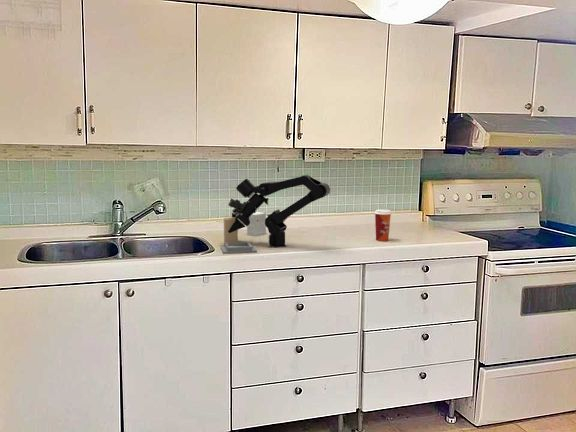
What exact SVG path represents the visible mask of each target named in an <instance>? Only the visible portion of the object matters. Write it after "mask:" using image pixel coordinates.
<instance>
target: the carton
mask: <svg viewBox="0 0 576 432" xmlns="http://www.w3.org/2000/svg"><path fill="white" fill-rule="evenodd" d="M234 222H235V217H232V216H230V217H223V246H225V243H234V242H239V234H238V233H239V232H238V231H239V229H238V230H236V231H234V232H231V233H229V232H228V230H229V229H230V227H231V226H232V225H233V223H234Z"/></svg>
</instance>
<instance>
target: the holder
mask: <svg viewBox="0 0 576 432" xmlns="http://www.w3.org/2000/svg"><path fill="white" fill-rule="evenodd" d="M220 251H221V252H222V254H223V255H227V254H251V253H252V254H257V253H258V250H257V249H256V247H255V246H254V244H251V243H250V241H243V242H242V241H238V242H234V243H225V245H220Z"/></svg>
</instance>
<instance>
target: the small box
mask: <svg viewBox="0 0 576 432" xmlns="http://www.w3.org/2000/svg"><path fill="white" fill-rule="evenodd" d="M266 218H267V213H266V212H262V211H256V212H255V214H254V213H253V214H252V215H251V216H250V217H249V220H250V224H249V225H248V226H246V235H247V236H251V237H258V236H262V235H266V234H267V227H266V225H265V219H266Z"/></svg>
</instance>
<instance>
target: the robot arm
mask: <svg viewBox="0 0 576 432" xmlns="http://www.w3.org/2000/svg"><path fill="white" fill-rule="evenodd" d="M298 186H299V187H300V186H304V187H305V188H306V189H308V190H309V191H308V192H307V194H306V195H305V196H303V197H302V198H300V199H298V200H297V201H296V202H294V203H292V204H290V205H289V206H287V207H286V208H285V209H283V210H280V209H276V210H274V211H272V212H271V214H268V215H267V214H266V219H265V225H266V229H267V231H268V233H269V235H268V245H269V246H270V247H271V248H280V247H281V248H282V247H287V245H286V230H287V224H286V223H285V222H286V220H287V219H288V218H289V217H291V216H293V215H294V214H295V213H297V212H299V211H300V210H302V209H303V208H305V207H306V206H308V205H310V204H311V203H313V202H315V201H317V200H319V199H322V198H325V197H327V196H328V195H330V193H331V187H330V186H329V184H328V183H327V182H321V181H319V179H318V180H317V179H315V178H313V177H312V176H311V175H309V174H304V175H302V176H298V177H293V178H290V179H285V180H282V181H281V180H280V181H267V182H263V183H259V185H254V184H253V183H252V182H251V181H250V180H249V179H248V178H245V179H244V180H242V181H241V182H240V183H238V185H237V186H236V191H238V193H239V194H240V195H241V196H243V198H248V199H247V201H244V202H241V200H239V199H234V198H230V201H229V202H228V207H230V208H233V209H232V211H231V217H235V222H234V223H233V225H232V226H231V227H230V229H229V230H228V232H229V233H231V232H234V231H236V230H238V231H239V230H241V229H243V228H247V226H248V225H249V224H250V220H249V217H250V216H251V215H252V214H253V213H254V214H255V212H257V210H258V209H259V208H260V207H261V206H263V205H264V203H265V204H266V206H268V205H269V197H267V196H270V195H272V194H275V193H277V192H279V191H283V190H285V189H289V188H295V187H298Z"/></svg>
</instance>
